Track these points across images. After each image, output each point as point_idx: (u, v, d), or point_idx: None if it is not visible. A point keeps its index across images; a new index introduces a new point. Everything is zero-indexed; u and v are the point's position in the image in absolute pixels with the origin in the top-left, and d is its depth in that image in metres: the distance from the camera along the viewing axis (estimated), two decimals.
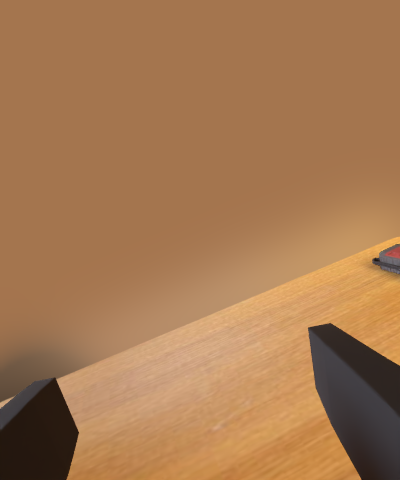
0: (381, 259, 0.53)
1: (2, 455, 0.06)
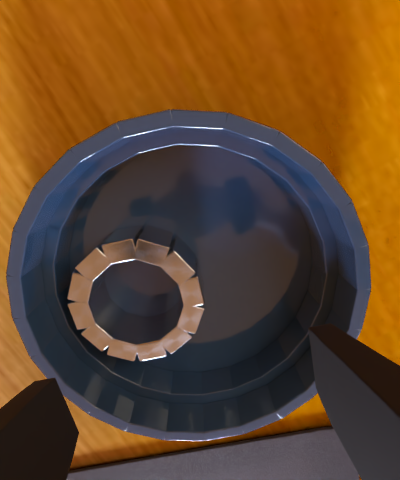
0: None
1: (2, 455, 0.06)
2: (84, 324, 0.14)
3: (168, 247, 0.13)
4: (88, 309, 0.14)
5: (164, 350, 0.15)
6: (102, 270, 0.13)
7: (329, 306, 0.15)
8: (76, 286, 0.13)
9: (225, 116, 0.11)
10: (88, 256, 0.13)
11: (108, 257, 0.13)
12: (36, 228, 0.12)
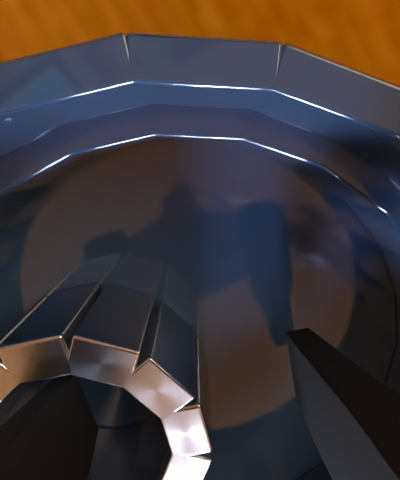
0: None
1: (30, 450, 0.06)
2: None
3: (138, 351, 0.06)
4: None
5: None
6: (3, 395, 0.06)
7: None
8: None
9: (278, 53, 0.04)
10: None
11: (13, 371, 0.06)
12: None
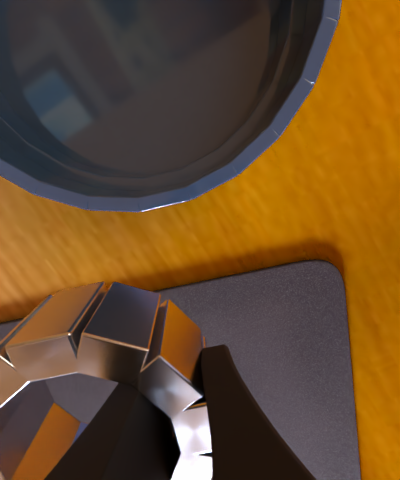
0: None
1: (136, 430, 0.06)
2: None
3: (147, 349, 0.06)
4: None
5: None
6: (11, 394, 0.06)
7: (299, 34, 0.11)
8: None
9: None
10: None
11: (21, 370, 0.06)
12: None
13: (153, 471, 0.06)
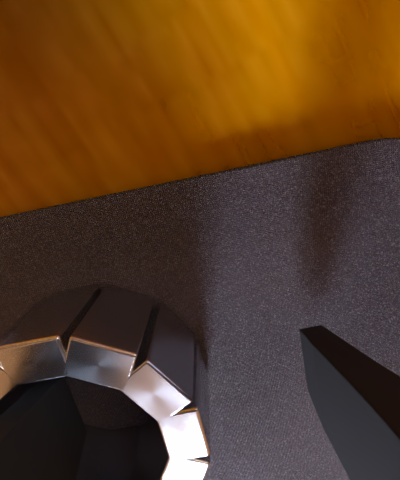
0: None
1: (14, 453, 0.06)
2: None
3: (135, 353, 0.06)
4: None
5: None
6: (1, 395, 0.06)
7: None
8: None
9: None
10: None
11: (11, 372, 0.06)
12: None
13: None
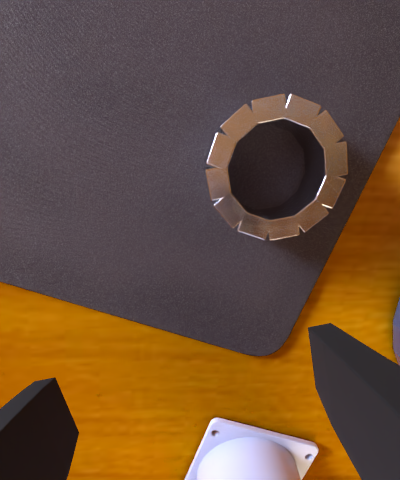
0: None
1: (2, 455, 0.06)
2: (291, 107, 0.12)
3: (304, 232, 0.14)
4: (302, 123, 0.13)
5: (214, 166, 0.13)
6: (326, 164, 0.13)
7: None
8: (330, 129, 0.13)
9: None
10: (346, 161, 0.13)
11: (332, 178, 0.13)
12: None
13: None
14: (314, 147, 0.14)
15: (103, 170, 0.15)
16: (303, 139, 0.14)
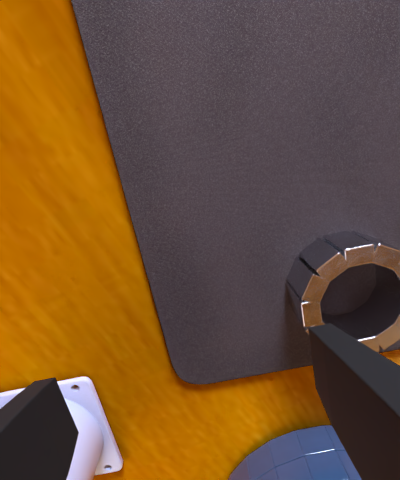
0: None
1: (2, 455, 0.06)
2: None
3: None
4: None
5: (345, 257, 0.14)
6: (384, 332, 0.16)
7: None
8: None
9: None
10: (392, 343, 0.16)
11: (376, 342, 0.16)
12: None
13: None
14: (385, 313, 0.16)
15: (273, 156, 0.15)
16: (382, 299, 0.17)
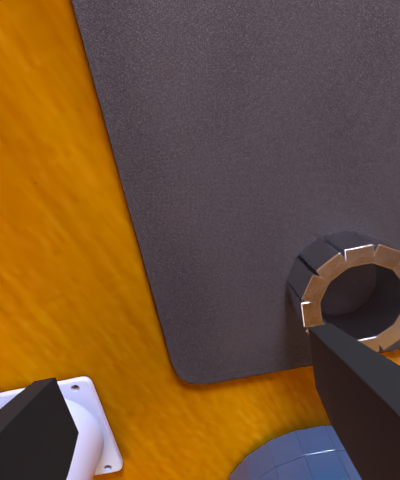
0: None
1: (2, 455, 0.06)
2: None
3: None
4: None
5: (345, 257, 0.14)
6: (384, 332, 0.16)
7: None
8: None
9: None
10: (392, 343, 0.16)
11: (376, 342, 0.16)
12: None
13: None
14: (385, 313, 0.16)
15: (274, 157, 0.15)
16: (382, 300, 0.17)
